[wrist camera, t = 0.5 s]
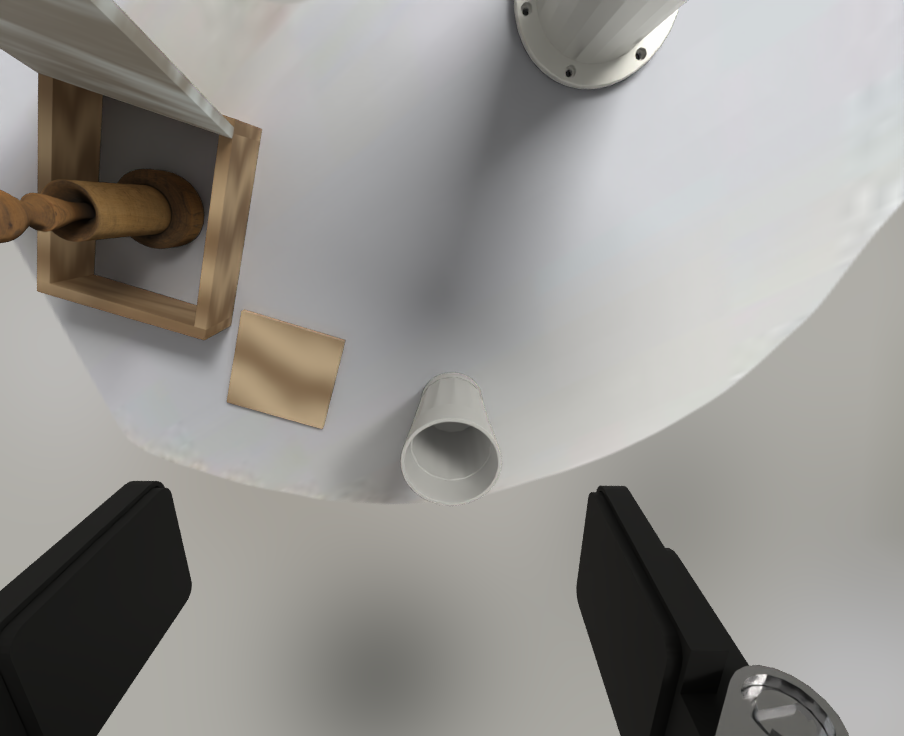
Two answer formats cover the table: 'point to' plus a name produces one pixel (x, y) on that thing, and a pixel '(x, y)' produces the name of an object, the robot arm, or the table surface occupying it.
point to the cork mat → (284, 369)
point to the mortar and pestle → (109, 210)
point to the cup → (451, 444)
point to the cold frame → (78, 151)
